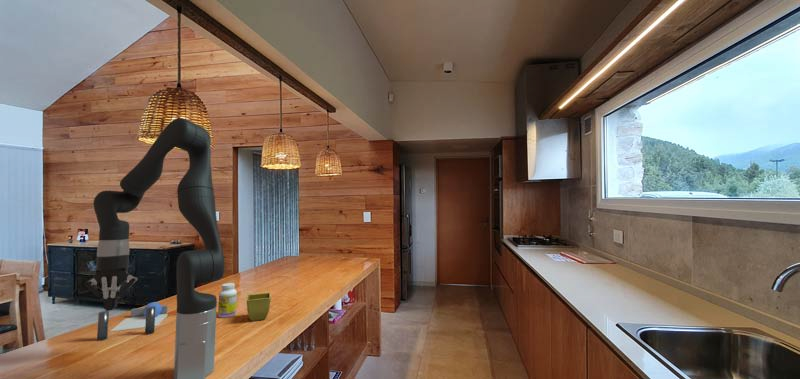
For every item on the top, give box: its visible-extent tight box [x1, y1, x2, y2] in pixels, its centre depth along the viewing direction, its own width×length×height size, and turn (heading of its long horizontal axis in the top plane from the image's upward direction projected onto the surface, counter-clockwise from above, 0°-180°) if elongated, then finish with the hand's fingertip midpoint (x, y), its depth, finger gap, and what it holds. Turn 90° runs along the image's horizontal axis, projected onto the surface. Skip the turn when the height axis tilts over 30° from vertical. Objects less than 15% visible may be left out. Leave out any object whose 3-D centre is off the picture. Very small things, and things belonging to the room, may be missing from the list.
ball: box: [143, 301, 163, 317], centre depth 127 cm, size 6×6×6 cm
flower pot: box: [246, 292, 272, 322], centre depth 126 cm, size 9×9×9 cm
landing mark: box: [109, 313, 169, 333], centre depth 121 cm, size 14×14×1 cm
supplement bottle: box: [217, 282, 238, 318], centre depth 130 cm, size 7×7×13 cm
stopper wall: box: [130, 305, 169, 318], centre depth 130 cm, size 2×12×3 cm, turn 113°
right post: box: [144, 306, 156, 336], centre depth 111 cm, size 3×3×9 cm
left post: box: [96, 310, 110, 342], centre depth 106 cm, size 3×3×9 cm
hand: (110, 309), depth 97 cm, fingers closed
